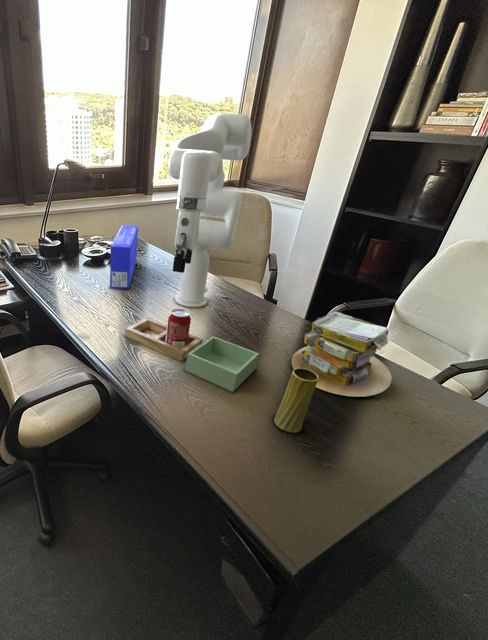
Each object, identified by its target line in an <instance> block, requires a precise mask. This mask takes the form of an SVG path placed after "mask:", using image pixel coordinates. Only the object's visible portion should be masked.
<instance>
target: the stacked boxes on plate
mask: <svg viewBox="0 0 488 640" xmlns="http://www.w3.org/2000/svg"><path fill="white" fill-rule="evenodd" d="M389 331H390V330H389V329H388V327H386V326H382V325H377V324H374V323H370V322H369V321H366V320H363V319H362V318H357V317H353V316H351V315H347V314H344V313H342V312H339V311H333V312H331V313H330V314H329V313H328V314H327V315H324V316H322V317H317V319H316V320H315V321H312V324H311V331H309V332H307V333H305V334H304V340H303V341H304V342H303V344H305V345H306V346H304V347H302V348H300V349H298V350H296V351H295V353H293V355H292V357H291V366H292V369H293V370H294V369H295V368H306V369H309V370H312V371H314V372H315V373H316V374H317V375H318V377H319V379H318V382H317V384H316V387H315V388H317V389H319V390H322V391H324V392H328V393H331V394H335V395H338V396H339V395H340V396H346V397H354V398H355V397H356V398H357V397H358V398H359V397H370V396H376V395H378V394H381V393H383V392H384V391H386V390H387V389H388V388H390V385H391V383H392V381H393V380H392V379H393V378H392V373H391V371H390V370H389V368H388V367H387V366H386V365H385V364H384V362H382V361H381V360H380V359H378V358H376V357H375V356H376V352H377V350H379V351H381V350H382V348H383V347H385V346H387V344H389V341H388V340H389V339H388V335H389Z"/></svg>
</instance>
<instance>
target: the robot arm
mask: <svg viewBox="0 0 488 640" xmlns="http://www.w3.org/2000/svg"><path fill="white" fill-rule="evenodd" d="M203 122H204V123H203V125H202V126H201V128H200V131H197V132H195V133H193V134H189V135H188V136H185V137H183V138H181V139H179V141H177V143H176V144H175V146H174V147H173V149H172V151H171V153H170V156H169V159H168V164H167V169H168V173H169V176H170V177H171V178H172V179H174V180H179V181H178V187H177V195H176V203H175V210H176V211H179V212H178V218H177V224H176V229H175V232H176V233H175V237H174V238H175V239H174V248H175V251H174V252H175V253H174V256H173V263H172V264H173V265H172V272H174V273H175V272H176V273H182V274H181V280H180V288H179V293H177V294H176V295H174V296H175V297H174V301H175V303H177V304H179V305H180V306H183V307H187V308H202V307H204V306H206V305H207V302H208V299H207V298H206V297H205V294H206V293H207V292H208V291H209V290H208V288H207V287H206V285H207V280H208V273H209V269H210V263H211V259H210V255H209V253H208V251H207V249H213V250H221V251H227V250H230V249H231V248H232V246H233V244H234V241H235V237H236V232H237V228H238V223H239V220H240V219H239V218H240V212H241V208H242V195H241V193H240V192H239V191H237V190H234V189H233V190H232V189H224V183H225V178H226V174H225V172H224V170H223V166H224V161H223V160H226V161H242V160H244V159H245V158H246V157H247V156H248V153H249V151H250V147H251V139H252V121H251V118H250V117H249V116H248V115H247V114H244V113H223V112H221V113H220V112H217V113H213V114H211V115H209V116H208V117H207V118H206V119H205V121H203ZM201 217H205V218H217V219H222V220H224V221H219V220H212V219H211V220H209V219H203V218H202V219H201Z"/></svg>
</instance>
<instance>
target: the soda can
mask: <svg viewBox="0 0 488 640" xmlns="http://www.w3.org/2000/svg"><path fill="white" fill-rule="evenodd" d="M170 312H171V313H170V314H168V317H167V324H166V325H167V332H166V340H165V342H166V343H168V344H170V345H173V346H175V347H178V348H180V349H182V348H183V347H185V346H186V345H187V341H188V335H189V334H190V328H191V323H192V318H191V313H190V311H189V310H187V309H184V308H174V309H172V310H171V311H170Z"/></svg>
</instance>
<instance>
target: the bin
mask: <svg viewBox="0 0 488 640" xmlns="http://www.w3.org/2000/svg"><path fill="white" fill-rule="evenodd" d="M259 357H260V353H258V352H256V351H254V350H251V349H248V348H245V347H243V346H240V345H238V344H235V343H233V342H230V341H227V340H224V339H222V338H219V337H217V336H214V335H212V336H211V337H210V338H208V339H207V340H204V342H202V344H201V345H199V346H198V347H197V348H195V349H194V350H192V351H191V352H189V353H188V356H187V358H186V363H185V369H184V371H185V372H187V373H190V374H191V375H194V376H197V377H198V378H201V379H202V380H205V381H208V382H210V383H212V384H213V385H217V386H218V387H220V388H223V389H225V390H227V391H229V392H232V393H233V392H234V391H235V390H236V389H237V388H238V387H239V386H241V385H242V383H243V382H244V381H245V380H247V378H249V376H250V375H251V374H253V373H254V372H255V371H256V367H257V364H258V360H259Z"/></svg>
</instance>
